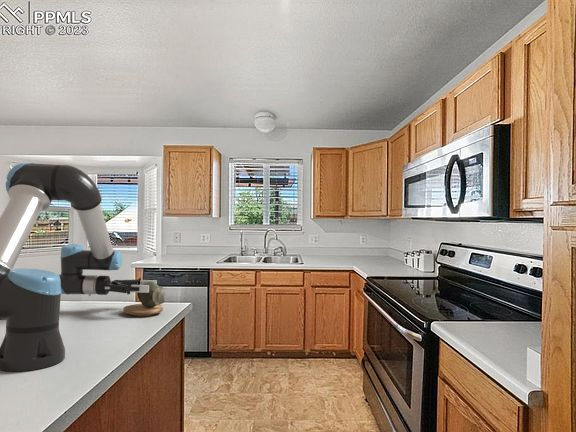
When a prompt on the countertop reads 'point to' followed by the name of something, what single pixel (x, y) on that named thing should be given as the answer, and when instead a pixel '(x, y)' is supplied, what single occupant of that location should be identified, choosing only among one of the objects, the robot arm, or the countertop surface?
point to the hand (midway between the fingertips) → (152, 286)
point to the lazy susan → (142, 309)
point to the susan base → (143, 315)
